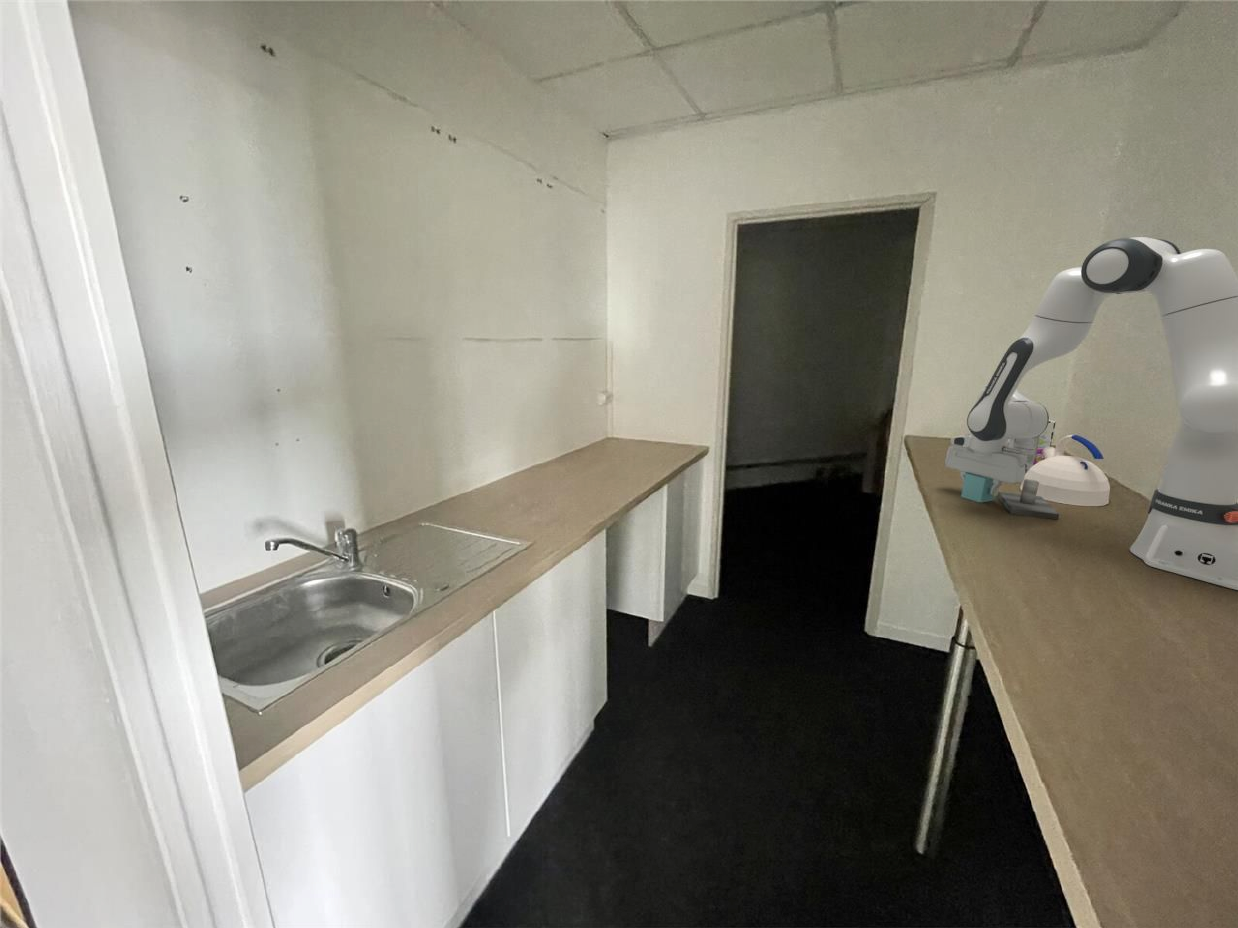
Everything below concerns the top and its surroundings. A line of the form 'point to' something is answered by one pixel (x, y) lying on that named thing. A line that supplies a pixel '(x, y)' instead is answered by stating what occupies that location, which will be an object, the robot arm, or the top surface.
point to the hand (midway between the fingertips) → (978, 490)
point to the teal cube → (977, 488)
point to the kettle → (1070, 476)
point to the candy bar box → (1041, 441)
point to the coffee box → (1027, 449)
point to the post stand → (1028, 502)
